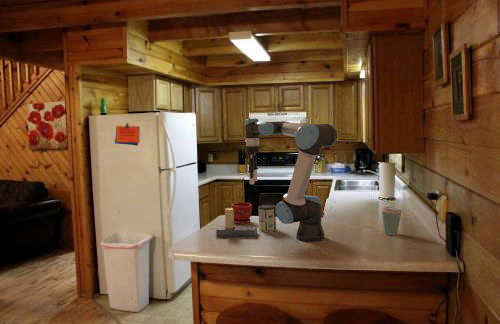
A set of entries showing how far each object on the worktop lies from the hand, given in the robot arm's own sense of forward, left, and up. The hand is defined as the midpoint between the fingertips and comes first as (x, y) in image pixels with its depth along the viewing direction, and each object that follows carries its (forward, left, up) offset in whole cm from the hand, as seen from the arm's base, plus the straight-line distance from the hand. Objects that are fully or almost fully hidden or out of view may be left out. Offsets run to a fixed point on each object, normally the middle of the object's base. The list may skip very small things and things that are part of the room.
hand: (253, 182), depth 244 cm
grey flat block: (+9, +10, -29) cm, 31 cm away
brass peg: (+13, +10, -29) cm, 33 cm away
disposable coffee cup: (-76, +4, -29) cm, 82 cm away
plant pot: (+11, -21, -29) cm, 37 cm away
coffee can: (-7, -3, -29) cm, 30 cm away
